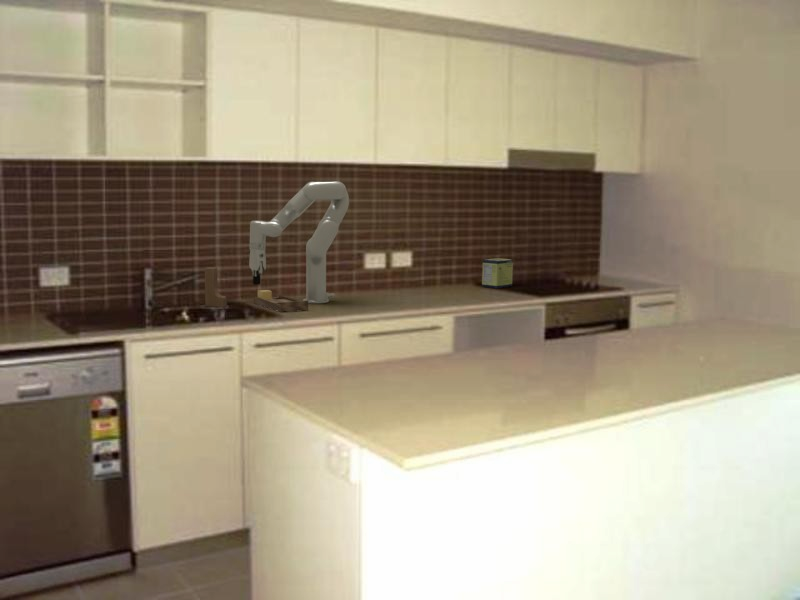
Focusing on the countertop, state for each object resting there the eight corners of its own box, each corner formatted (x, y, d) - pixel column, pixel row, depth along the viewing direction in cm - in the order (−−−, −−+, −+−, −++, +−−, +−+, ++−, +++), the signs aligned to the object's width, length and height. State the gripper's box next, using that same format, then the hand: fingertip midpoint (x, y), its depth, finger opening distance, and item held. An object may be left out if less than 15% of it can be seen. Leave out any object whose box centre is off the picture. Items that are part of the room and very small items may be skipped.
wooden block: (226, 306, 411) (226, 267, 409) (223, 307, 407) (223, 268, 404) (208, 305, 412) (208, 267, 410) (205, 306, 408) (204, 268, 406)
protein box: (512, 286, 501) (513, 259, 499) (496, 288, 490) (497, 260, 487) (497, 284, 508) (498, 257, 506) (481, 286, 497) (482, 259, 494)
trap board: (280, 301, 427) (280, 292, 426) (308, 310, 402) (308, 300, 402) (254, 303, 420) (254, 294, 419) (280, 312, 395) (280, 302, 394)
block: (267, 298, 422) (267, 289, 421) (271, 299, 418) (271, 291, 417) (257, 298, 419) (257, 290, 419) (262, 300, 415) (262, 291, 415)
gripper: (271, 247, 417) (270, 286, 420) (258, 245, 430) (257, 282, 432) (256, 247, 413) (255, 286, 416) (244, 245, 426) (243, 282, 428)
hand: (256, 284), depth 424 cm, fingers closed
